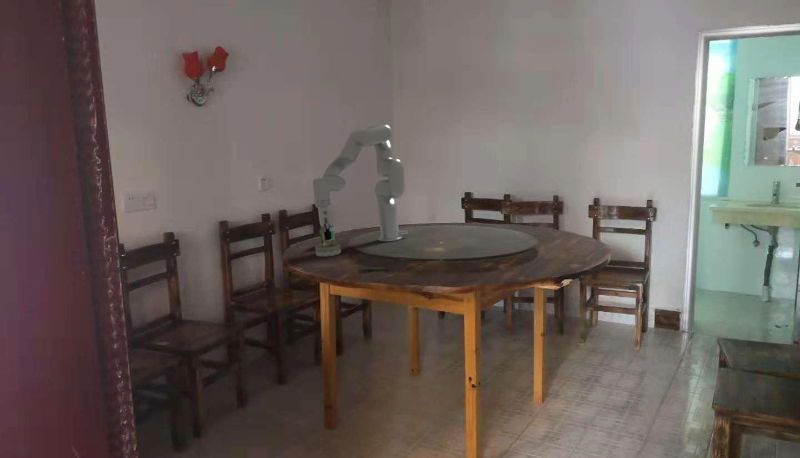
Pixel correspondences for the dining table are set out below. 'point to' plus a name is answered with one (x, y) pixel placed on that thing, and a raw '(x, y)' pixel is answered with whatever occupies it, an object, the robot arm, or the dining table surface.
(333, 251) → the bead
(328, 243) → the peg
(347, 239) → the dining table surface
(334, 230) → the food container
